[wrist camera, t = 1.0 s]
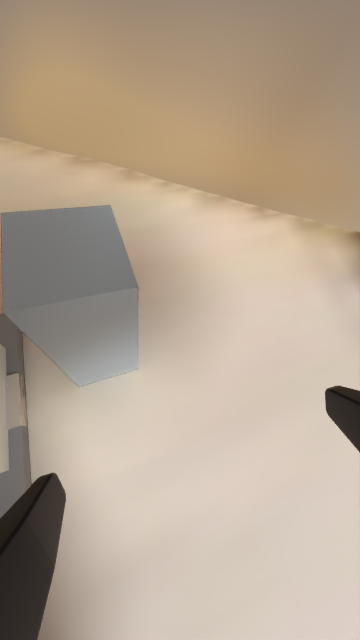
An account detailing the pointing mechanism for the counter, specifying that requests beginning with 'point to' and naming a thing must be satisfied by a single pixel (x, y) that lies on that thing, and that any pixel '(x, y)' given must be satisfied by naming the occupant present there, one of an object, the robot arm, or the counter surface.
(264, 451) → the counter surface
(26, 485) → the board
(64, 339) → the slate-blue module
